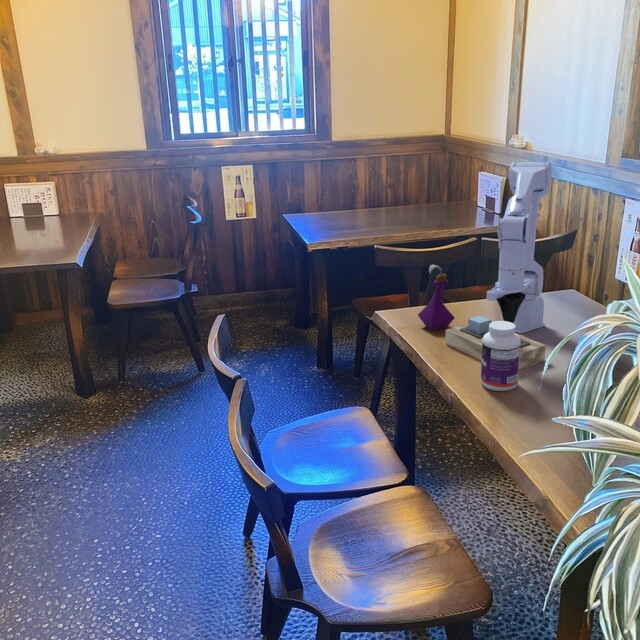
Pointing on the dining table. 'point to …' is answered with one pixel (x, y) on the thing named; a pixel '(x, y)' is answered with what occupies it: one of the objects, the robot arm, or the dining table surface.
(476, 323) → the peg blue
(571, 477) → the dining table surface
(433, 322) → the perfume bottle
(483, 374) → the pill bottle
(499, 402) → the dining table surface
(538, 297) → the robot arm
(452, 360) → the dining table surface
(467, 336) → the socket block
